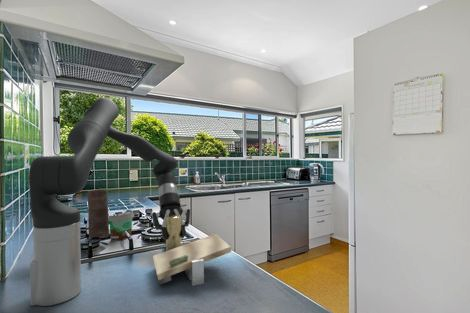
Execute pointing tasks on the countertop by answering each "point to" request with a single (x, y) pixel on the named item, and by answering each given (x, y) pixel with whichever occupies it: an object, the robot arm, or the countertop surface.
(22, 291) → the countertop surface
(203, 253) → the tilting board
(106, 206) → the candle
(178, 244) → the cylinder
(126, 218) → the food container
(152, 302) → the countertop surface
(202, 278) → the board stand
